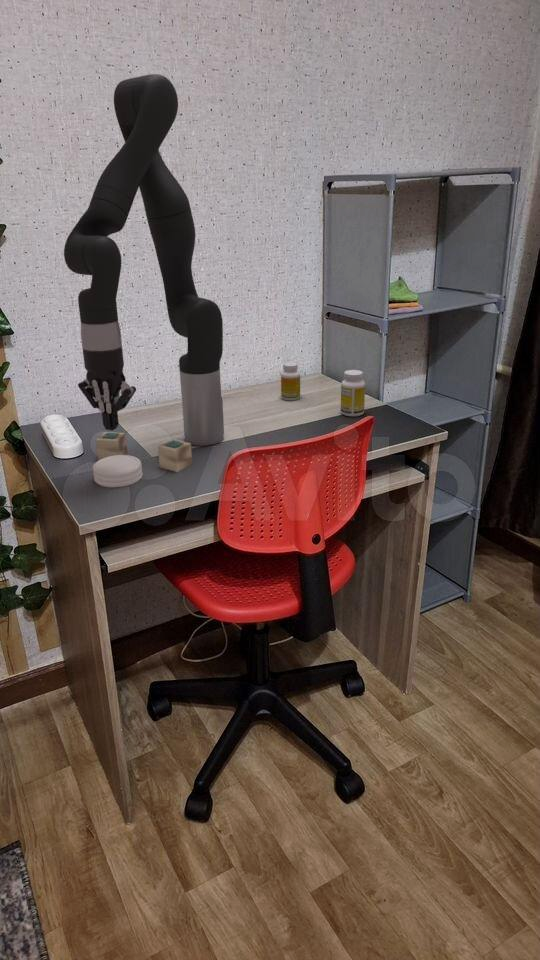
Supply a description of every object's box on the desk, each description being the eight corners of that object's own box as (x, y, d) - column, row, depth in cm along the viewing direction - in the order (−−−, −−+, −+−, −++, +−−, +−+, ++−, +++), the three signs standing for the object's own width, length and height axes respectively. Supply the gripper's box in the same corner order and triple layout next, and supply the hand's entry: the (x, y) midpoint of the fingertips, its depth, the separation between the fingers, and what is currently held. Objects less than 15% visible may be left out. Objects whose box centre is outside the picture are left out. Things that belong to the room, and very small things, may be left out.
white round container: (124, 465, 148) (123, 450, 147) (152, 477, 142) (150, 462, 140) (85, 479, 142) (83, 464, 140) (112, 493, 135) (110, 477, 134)
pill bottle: (363, 409, 179) (365, 369, 174) (364, 417, 173) (366, 375, 168) (340, 409, 179) (341, 368, 175) (340, 416, 174) (341, 375, 169)
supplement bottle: (300, 400, 186) (300, 366, 182) (281, 401, 186) (280, 366, 182) (299, 394, 191) (300, 361, 187) (281, 395, 191) (280, 361, 187)
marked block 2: (175, 459, 150) (173, 437, 148) (192, 464, 148) (190, 442, 145) (159, 467, 146) (157, 444, 144) (177, 472, 144) (175, 449, 142)
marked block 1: (107, 452, 155) (104, 430, 153) (127, 453, 154) (125, 431, 152) (98, 460, 150) (95, 438, 148) (119, 461, 150) (117, 439, 147)
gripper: (141, 343, 130) (148, 427, 138) (87, 337, 136) (96, 419, 143) (118, 352, 124) (127, 439, 131) (62, 345, 129) (73, 430, 137)
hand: (111, 428), depth 137 cm, fingers closed
